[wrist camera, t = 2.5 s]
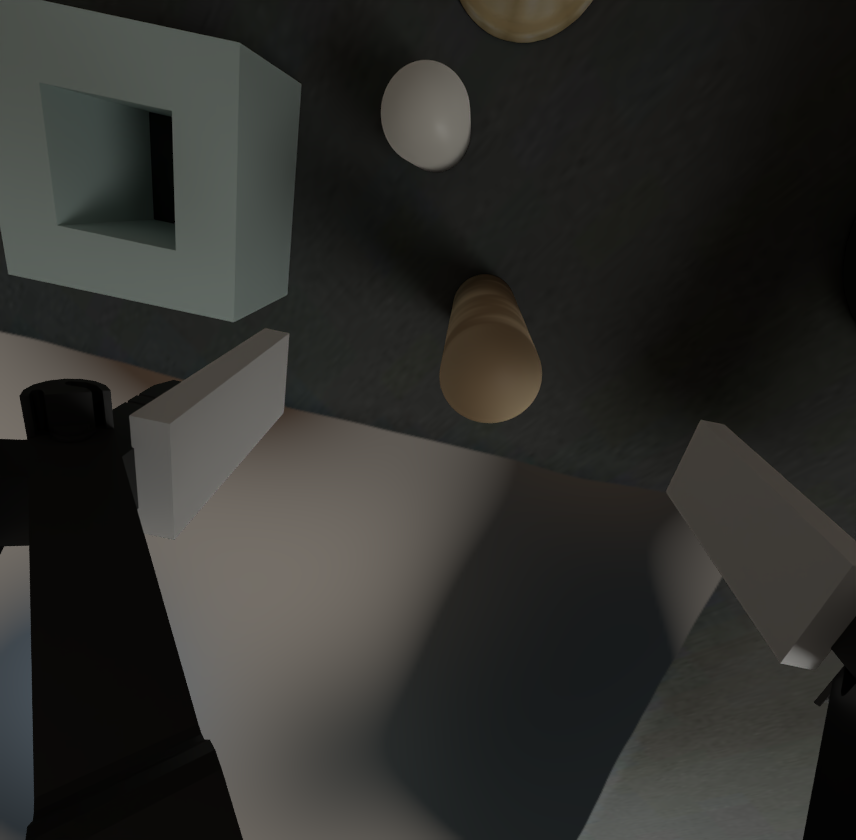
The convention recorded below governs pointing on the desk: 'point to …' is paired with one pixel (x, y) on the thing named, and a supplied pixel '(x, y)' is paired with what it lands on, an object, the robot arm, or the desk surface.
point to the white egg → (427, 115)
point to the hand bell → (524, 17)
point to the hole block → (144, 160)
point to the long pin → (488, 353)
